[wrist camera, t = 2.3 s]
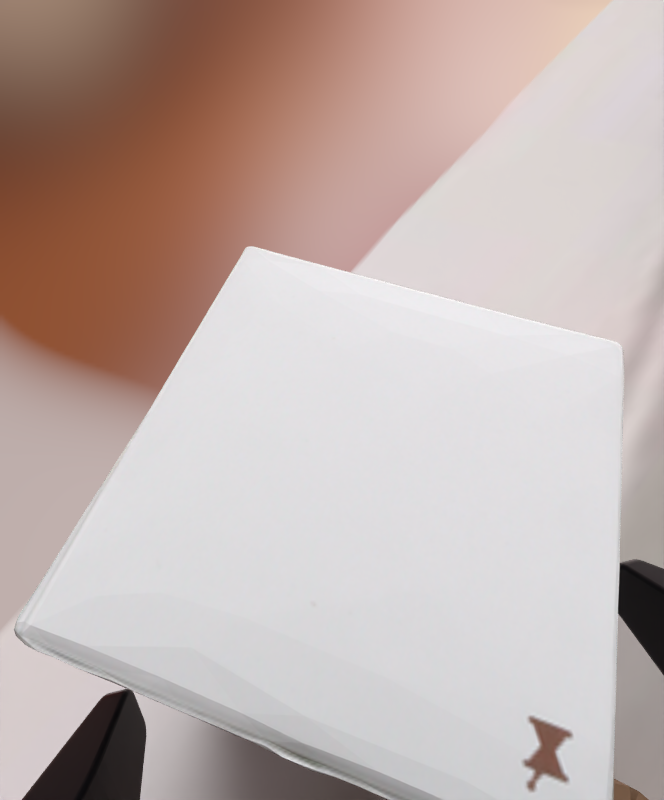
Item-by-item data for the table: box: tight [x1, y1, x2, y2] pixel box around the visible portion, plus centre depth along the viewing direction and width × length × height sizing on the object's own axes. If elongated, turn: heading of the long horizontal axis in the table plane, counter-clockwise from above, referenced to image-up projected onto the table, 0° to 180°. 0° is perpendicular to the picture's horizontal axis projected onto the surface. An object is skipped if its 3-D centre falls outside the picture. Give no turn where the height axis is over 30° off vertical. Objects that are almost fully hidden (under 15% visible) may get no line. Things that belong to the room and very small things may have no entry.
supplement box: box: [14, 247, 624, 800], centre depth 12 cm, size 7×7×13 cm
